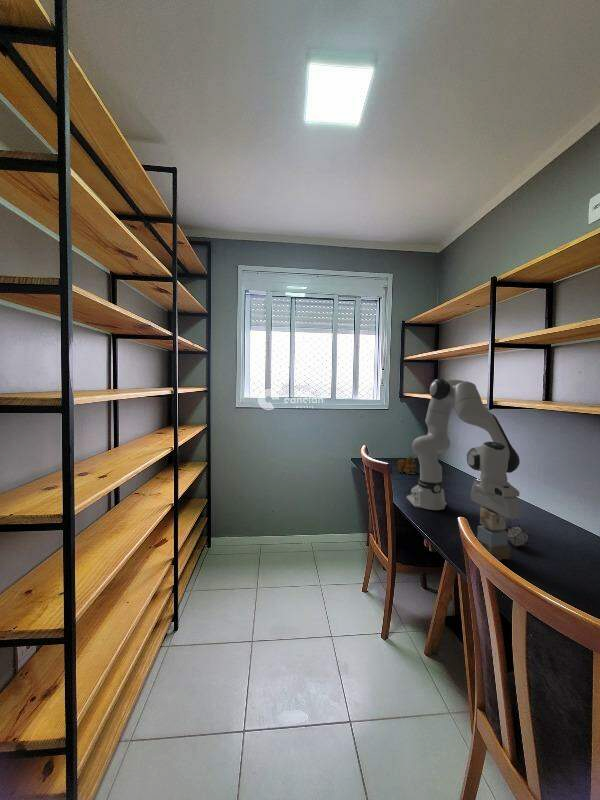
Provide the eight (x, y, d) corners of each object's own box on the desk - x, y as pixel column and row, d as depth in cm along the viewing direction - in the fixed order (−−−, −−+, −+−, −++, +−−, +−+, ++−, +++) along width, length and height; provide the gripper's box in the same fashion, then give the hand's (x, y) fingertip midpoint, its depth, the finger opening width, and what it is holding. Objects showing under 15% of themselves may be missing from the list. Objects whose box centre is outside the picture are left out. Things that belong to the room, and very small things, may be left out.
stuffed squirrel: (415, 475, 228) (416, 458, 228) (395, 473, 234) (396, 456, 234) (416, 472, 237) (417, 455, 237) (397, 470, 243) (397, 453, 243)
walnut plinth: (475, 550, 123) (475, 537, 123) (492, 548, 125) (493, 536, 125) (490, 561, 116) (491, 548, 115) (509, 559, 117) (509, 546, 117)
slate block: (477, 538, 123) (477, 525, 123) (493, 536, 124) (493, 524, 124) (491, 547, 116) (491, 533, 116) (507, 545, 117) (507, 532, 117)
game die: (512, 555, 127) (495, 534, 128) (516, 541, 132) (500, 521, 133) (534, 553, 120) (517, 531, 121) (538, 538, 125) (521, 517, 127)
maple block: (479, 523, 122) (480, 508, 122) (493, 522, 123) (493, 507, 123) (491, 530, 116) (492, 514, 116) (505, 528, 117) (506, 513, 117)
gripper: (467, 477, 129) (466, 510, 129) (508, 494, 109) (507, 533, 109) (480, 477, 130) (479, 509, 131) (523, 493, 110) (522, 531, 110)
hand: (492, 520), depth 120 cm, fingers closed on maple block, 6 cm apart
